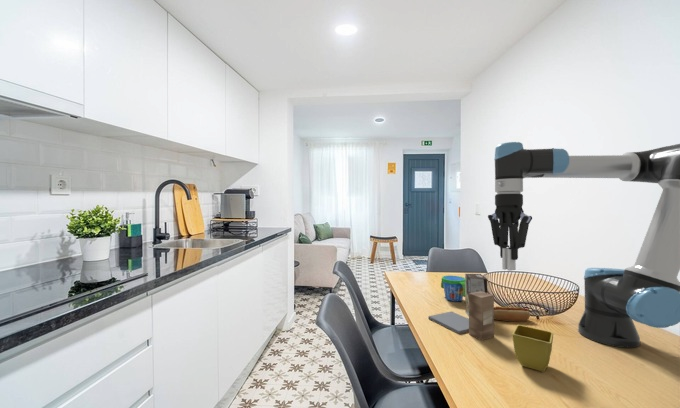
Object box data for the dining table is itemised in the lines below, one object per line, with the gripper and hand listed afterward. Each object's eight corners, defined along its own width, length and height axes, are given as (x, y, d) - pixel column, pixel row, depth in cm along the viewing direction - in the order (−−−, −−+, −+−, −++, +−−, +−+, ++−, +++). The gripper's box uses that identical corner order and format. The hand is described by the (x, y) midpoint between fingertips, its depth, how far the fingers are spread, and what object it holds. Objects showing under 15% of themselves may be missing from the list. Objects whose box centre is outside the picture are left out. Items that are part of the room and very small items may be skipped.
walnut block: (494, 336, 98) (493, 295, 98) (481, 340, 95) (481, 297, 96) (481, 331, 103) (481, 291, 103) (469, 334, 100) (468, 293, 100)
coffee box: (488, 321, 111) (487, 278, 111) (470, 319, 113) (469, 278, 113) (481, 312, 120) (481, 273, 120) (464, 311, 121) (464, 272, 122)
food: (493, 321, 111) (493, 308, 111) (488, 316, 117) (488, 303, 117) (532, 323, 109) (532, 310, 109) (525, 317, 115) (525, 305, 115)
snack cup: (434, 295, 143) (434, 274, 143) (453, 293, 146) (453, 273, 146) (453, 306, 128) (453, 282, 128) (474, 304, 131) (474, 281, 131)
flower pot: (517, 354, 87) (517, 323, 87) (553, 364, 81) (553, 331, 81) (512, 366, 80) (512, 333, 80) (551, 378, 74) (551, 343, 74)
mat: (483, 327, 105) (483, 325, 105) (459, 334, 100) (459, 331, 100) (451, 313, 119) (451, 311, 119) (428, 318, 114) (428, 316, 114)
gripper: (480, 194, 95) (481, 266, 95) (523, 192, 82) (523, 275, 82) (496, 194, 98) (496, 264, 98) (539, 192, 86) (540, 273, 85)
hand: (508, 269), depth 90 cm, fingers closed
